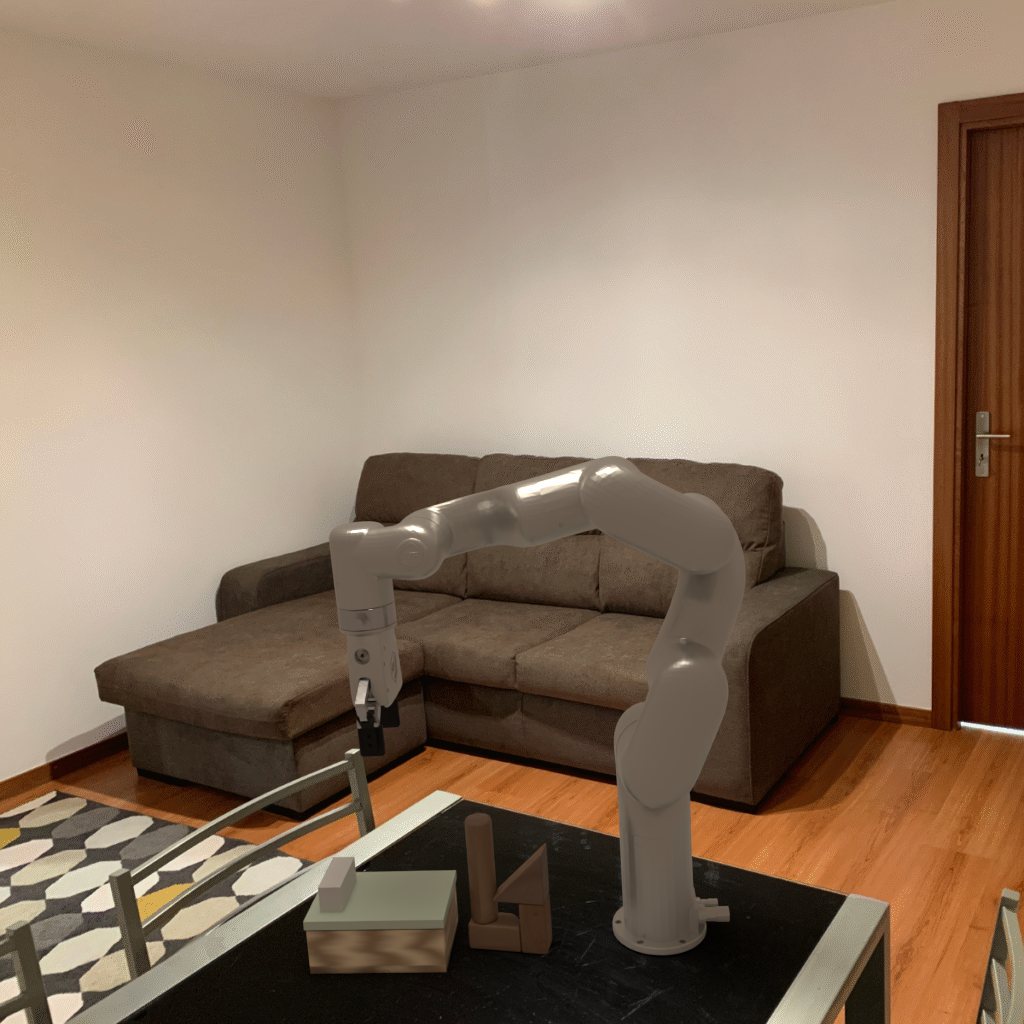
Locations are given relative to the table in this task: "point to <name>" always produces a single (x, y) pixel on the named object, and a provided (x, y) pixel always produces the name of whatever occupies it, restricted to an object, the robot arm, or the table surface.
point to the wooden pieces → (506, 896)
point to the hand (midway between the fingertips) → (381, 740)
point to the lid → (380, 899)
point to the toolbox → (383, 948)
